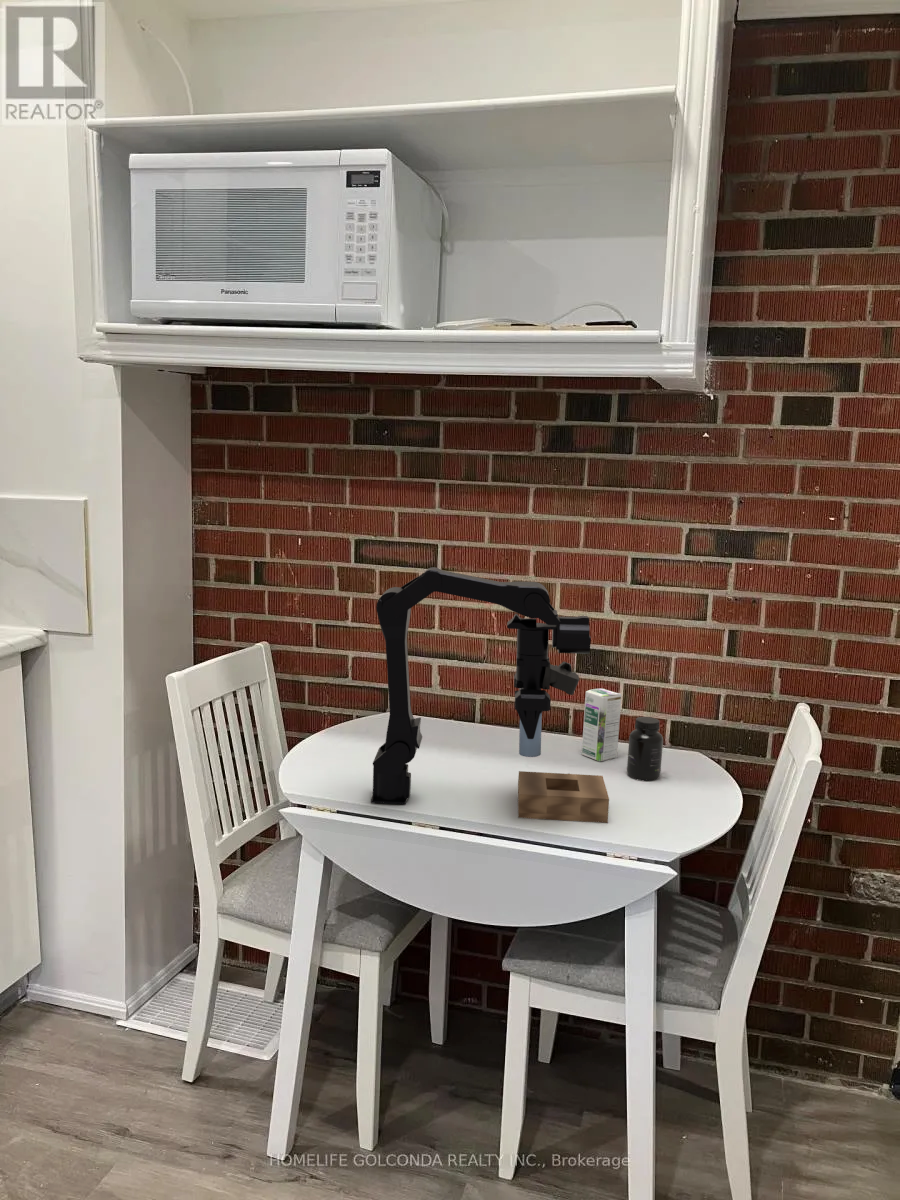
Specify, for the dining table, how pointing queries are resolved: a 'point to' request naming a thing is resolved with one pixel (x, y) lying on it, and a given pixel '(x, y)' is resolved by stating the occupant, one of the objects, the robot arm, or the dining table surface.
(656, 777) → the supplement bottle
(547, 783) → the socket block
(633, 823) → the dining table surface
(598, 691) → the syrup box
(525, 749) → the pin
